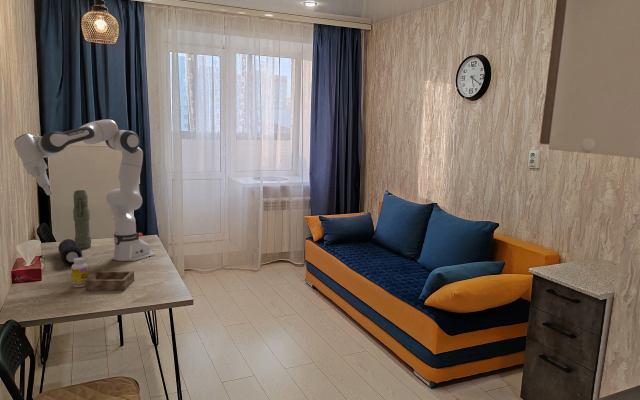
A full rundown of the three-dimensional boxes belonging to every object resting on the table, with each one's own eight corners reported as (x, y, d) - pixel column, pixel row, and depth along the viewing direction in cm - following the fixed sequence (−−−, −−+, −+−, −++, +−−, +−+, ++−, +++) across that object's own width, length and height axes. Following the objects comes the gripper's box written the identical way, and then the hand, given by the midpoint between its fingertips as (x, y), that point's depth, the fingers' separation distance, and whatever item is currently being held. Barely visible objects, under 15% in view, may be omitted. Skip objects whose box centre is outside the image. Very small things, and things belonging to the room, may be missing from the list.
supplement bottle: (81, 288, 220) (80, 261, 218) (69, 287, 221) (67, 260, 219) (91, 283, 226) (90, 257, 224) (79, 282, 228) (77, 256, 226)
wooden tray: (85, 290, 217) (85, 280, 217) (97, 280, 231) (96, 271, 230) (125, 290, 219) (124, 280, 218) (134, 280, 233) (134, 271, 232)
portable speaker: (58, 256, 271) (57, 239, 269) (77, 254, 276) (77, 237, 275) (62, 268, 250) (61, 249, 248) (83, 265, 255) (82, 247, 254)
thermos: (90, 244, 298) (87, 189, 292) (91, 249, 287) (88, 191, 282) (74, 246, 294) (71, 189, 288) (75, 250, 283) (72, 192, 278)
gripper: (41, 163, 217) (55, 191, 219) (45, 167, 235) (57, 192, 238) (26, 168, 214) (40, 196, 217) (31, 171, 233) (44, 197, 235)
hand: (49, 194), depth 227 cm, fingers open, 8 cm apart
